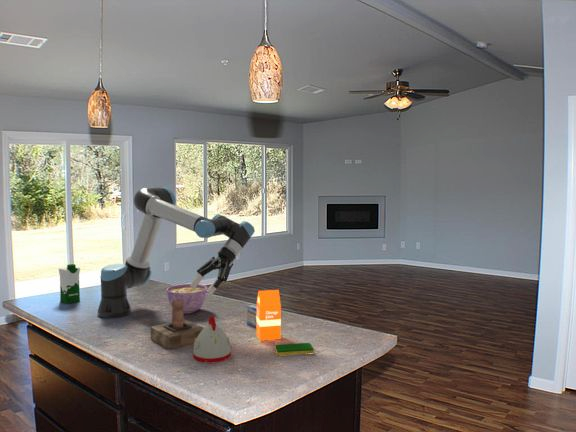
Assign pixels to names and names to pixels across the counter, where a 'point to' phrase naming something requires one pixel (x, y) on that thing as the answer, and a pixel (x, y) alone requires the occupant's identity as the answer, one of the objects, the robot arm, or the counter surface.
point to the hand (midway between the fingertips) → (200, 290)
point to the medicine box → (252, 315)
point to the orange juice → (268, 315)
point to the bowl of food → (188, 296)
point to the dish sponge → (294, 348)
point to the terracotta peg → (177, 314)
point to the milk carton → (69, 284)
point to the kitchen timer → (211, 344)
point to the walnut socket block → (175, 334)
